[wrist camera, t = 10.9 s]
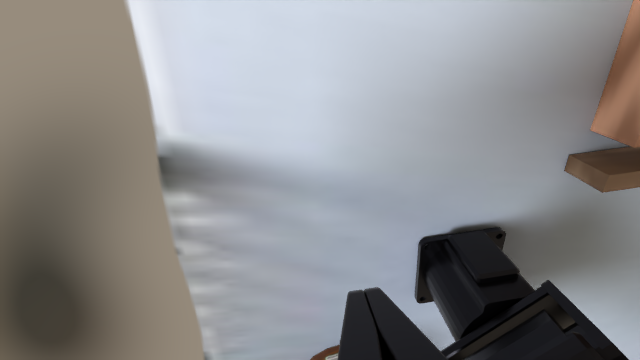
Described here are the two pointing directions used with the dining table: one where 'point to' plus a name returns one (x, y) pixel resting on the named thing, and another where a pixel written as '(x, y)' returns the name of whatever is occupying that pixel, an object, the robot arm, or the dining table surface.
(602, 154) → the walnut bay
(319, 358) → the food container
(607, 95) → the terracotta T block
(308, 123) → the dining table surface
